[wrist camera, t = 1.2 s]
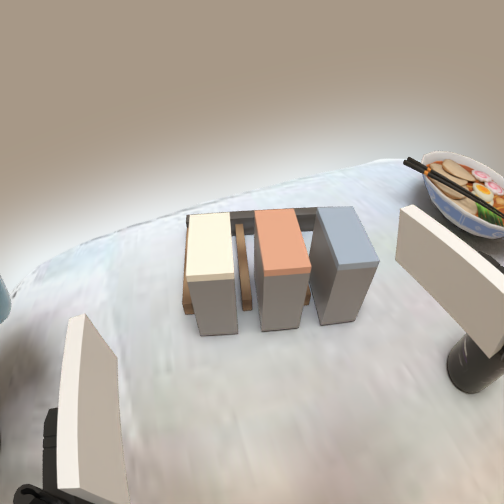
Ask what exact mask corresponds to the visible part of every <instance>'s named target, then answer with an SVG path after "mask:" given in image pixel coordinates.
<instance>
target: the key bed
mask: <svg viewBox="0 0 504 504" xmlns="http://www.w3.org/2000/svg"><path fill="white" fill-rule="evenodd" d="M317 208H318V207H311V208H289V209H294V211H295V214H296V218H297V221H298V224H299V227H300V230H301V231H313V230H314V224H315V218H316V212H317ZM270 210H275V209H270ZM255 211H257V210H252V211H236V212H230V226H231V236H235V235H236V242H237V253H238V264H239V275H240V285H241V296H242V306H243V311H247V310H252V296H251V288H250V280H249V271H248V263H247V255H246V246H245V238H244V235H250V234H254V214H255ZM221 213H226V212H221ZM207 214H211V213H207ZM193 215H198V214H193ZM189 219H190V215H187V217H186V225H187V235H186V248H185V264H184V281H183V301H182V305H183V308H184V312H185V314H194V308H193V304H192V300H191V296H190V292H189V287H188V283H187V279H186V263H187V247H188V232H189ZM310 297H311V292H310V289H309V285H308V286H307V291H306V296H305V301H304V305H309V301H310Z"/></svg>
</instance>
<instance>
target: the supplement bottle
mask: <svg viewBox="0 0 504 504" xmlns="http://www.w3.org/2000/svg"><path fill="white" fill-rule="evenodd" d="M503 353H504V345H503V346H502V348H501V349H500V350H499V351H498V352H497V353H496V354H494V355H493V356H492V357H491V358H490V359H489V358H488V357H487V355H486V354H485V353H484V352H483V351H482V350H481V348H480V347H479V346H478V345H477V344H476V343H475V342H474V341H473V339H472V338H471V337H470V336H469V335H468V334H467V333H466V334H465V335H464V336H463V337H462V338H461V340H460V341H459V342H458V343H457V344H456V345H455V346H454V347H453V349H452V350H451V352H450V354H449V357H448V371H449V375H450V377H451V379H452V381H453V382H454V384H455V385H456V386H457V387H458V388H460V389H461V390H463V391H465V392H469V393H476V392H479V391H481V390H483V389H485V388H486V387H488V386H489V385H490V384H492V383H493V382H494V381H496V380H497V379H498V378H499V377H501V376H502V375H503V374H504V361H503V362H501V357H502V355H503Z"/></svg>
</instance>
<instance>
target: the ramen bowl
mask: <svg viewBox="0 0 504 504" xmlns="http://www.w3.org/2000/svg"><path fill="white" fill-rule="evenodd" d="M403 164H404V165H406V166H408V167H410V168H412V169H414V170H416V171H418V172H420V173H422V175H423V179H424V182H425V185H426V187H427V190H428V193H429V195H430V198H431V200H432V202H433V203H434V204H435V205H436V206H437V208H438V209H439V210H440V211H441V212H442V214H443V215H444V216H445V217H446V218H447V219H449V220H450V221H451V222H452V223H454V224H455V225H456V226H457V227H459V228H461V229H463V230H465V231H467V232H469V233H471V234H473V235H476V236H481V237H485V238H490V239H495V238H500V237H504V177H502V176H501V175H499V174H498V173H497V172H495V171H494V170H492V169H491V168H489V167H488V166H486V165H484V164H482V163H480V162H478V161H476V160H473V159H472V158H469V157H466V156H463V155H460V154H456V153H453V152H445V151H434V152H430V153H428V154H425V155H423V158H422V161H421V163H420V162H418V161H416V160H414V159H412V158H411V157H408V158H407V160H404V162H403Z"/></svg>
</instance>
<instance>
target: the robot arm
mask: <svg viewBox="0 0 504 504" xmlns="http://www.w3.org/2000/svg"><path fill="white" fill-rule="evenodd" d="M395 260H396V261H397V262H398V263H399V264H400V265H401V266H402V267H403V268H404V269H405V270H406V271H407V272H408V273H409V274H410V275H411V276H412V277H413V278H414V279H415V280H416V281H417V282H418V283H419V284H420V285H421V286H422V287H423V288H424V289H425V290H426V291H427V292H428V293H429V294H430V295H431V296H432V297H433V298H434V299H435V300H436V301H437V302H438V303H439V304H440V305H441V306H442V307H443V308H444V309H445V310H446V311H447V312H448V313H449V314H450V315H451V317H452V318H453V319H454V320H455V321H456V322H457V323H458V324H459V325H460V326H461V327H462V328H463V329H464V331H465V332H466V333H467V334H468V335H469V336H470V337H471V338H472V339H473V341H474V342H475V343H476V344H477V345H478V346H479V347H480V348H481V350H482V351H483V352H484V353H485V354H486V355H487V357H488V358H489V359H490V358H491V357H492V356H493V355H494V354H496V353H497V352H498V351H499V350H500V349H501V348H502V346H503V345H504V267H503V266H500V264H499V263H498V262H497V261H496V260H495V259H493V258H492V257H491V256H489V255H487V254H484V253H482V252H480V251H479V252H476V251H475V250H474V249H473V248H471V247H470V246H469V245H468V244H466V243H465V242H464V241H462V240H461V239H460V238H459V237H457V236H456V235H455V234H453V233H452V232H451V231H449V230H448V229H447V228H445V227H444V226H443V225H441V224H440V223H439V222H437V221H436V220H434V219H433V218H432V217H430V216H429V215H428V214H426V213H425V212H423V211H422V210H420V209H419V208H418V207H416V206H415V205H413V204H412V205H409V206H406V207H404V208H401V209H400V216H399V228H398V238H397V248H396V256H395ZM10 310H11V299H10V295H9V293H8V291H7V289H6V286H5V284H4V282H3V280H2V278H1V275H0V324H1V323H2V322H3V321H4V320H5V319H6V318H7V317H8V315H9V313H10ZM503 361H504V353H503V355H502V357H501V362H503ZM43 437H44V439H43V448H44V450H43V490H42V489H40V488H38V487H36V486H33V485H31V484H25V485H22V486H21V487H19V488H18V489H17V491H16V493H15V495H14V500H13V504H131V503H130V497H129V491H128V485H127V478H126V471H125V463H124V455H123V445H122V435H121V424H120V410H119V393H118V363H117V356H116V355H115V354H114V353H113V351H112V350H111V349H110V347H109V346H108V345H107V343H106V342H105V341H104V339H103V338H102V336H101V335H100V334H99V332H98V331H97V329H96V328H95V327H94V325H93V324H92V322H91V321H90V320H89V318H88V317H87V315H86V314H82V315H79V316H76V317H73V318H70V319H69V322H68V328H67V334H66V341H65V347H64V355H63V362H62V371H61V380H60V391H59V404H58V408H53V409H49V411H48V414H47V416H46V419H45V422H44V434H43Z"/></svg>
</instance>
